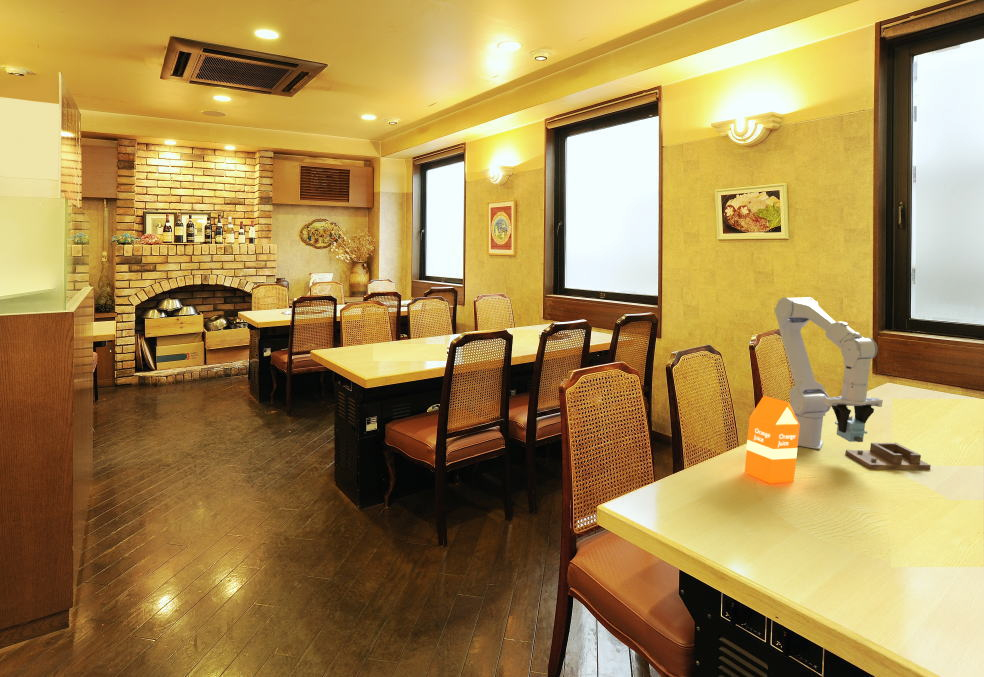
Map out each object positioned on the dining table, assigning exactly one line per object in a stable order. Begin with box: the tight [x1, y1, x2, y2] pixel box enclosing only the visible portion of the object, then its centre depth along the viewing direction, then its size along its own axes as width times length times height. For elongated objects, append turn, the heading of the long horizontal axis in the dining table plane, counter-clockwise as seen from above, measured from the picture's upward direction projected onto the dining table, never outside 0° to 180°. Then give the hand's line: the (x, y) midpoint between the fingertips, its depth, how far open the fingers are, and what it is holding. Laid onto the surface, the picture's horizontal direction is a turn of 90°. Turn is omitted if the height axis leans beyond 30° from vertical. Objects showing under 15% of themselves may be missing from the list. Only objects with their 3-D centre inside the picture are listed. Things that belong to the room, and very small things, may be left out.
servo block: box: [834, 415, 868, 443], centre depth 162 cm, size 9×4×6 cm, turn 0°
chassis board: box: [845, 442, 932, 470], centre depth 163 cm, size 16×11×4 cm
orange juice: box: [744, 395, 800, 484], centre depth 151 cm, size 8×9×20 cm
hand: (849, 431), depth 162 cm, fingers closed on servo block, 4 cm apart
